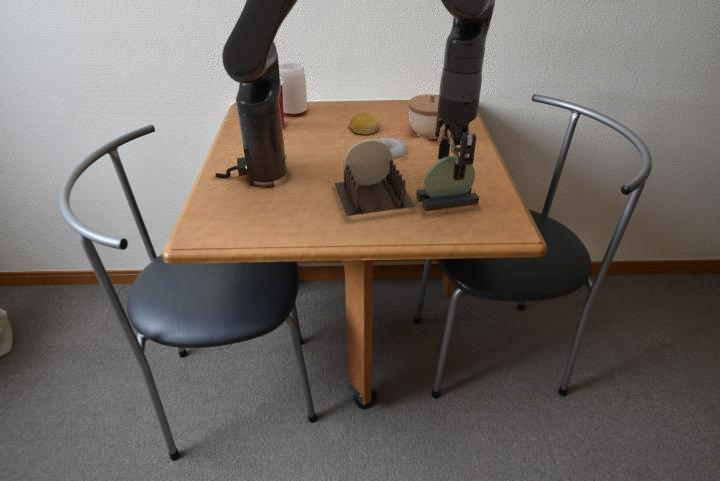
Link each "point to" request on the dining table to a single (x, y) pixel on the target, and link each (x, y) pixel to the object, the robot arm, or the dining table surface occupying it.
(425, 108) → the lidded bowl
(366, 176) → the cream plate
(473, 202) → the plate stand
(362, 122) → the bread roll
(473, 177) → the sage plate
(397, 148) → the donut
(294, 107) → the cup
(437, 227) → the dining table surface
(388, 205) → the dish rack
